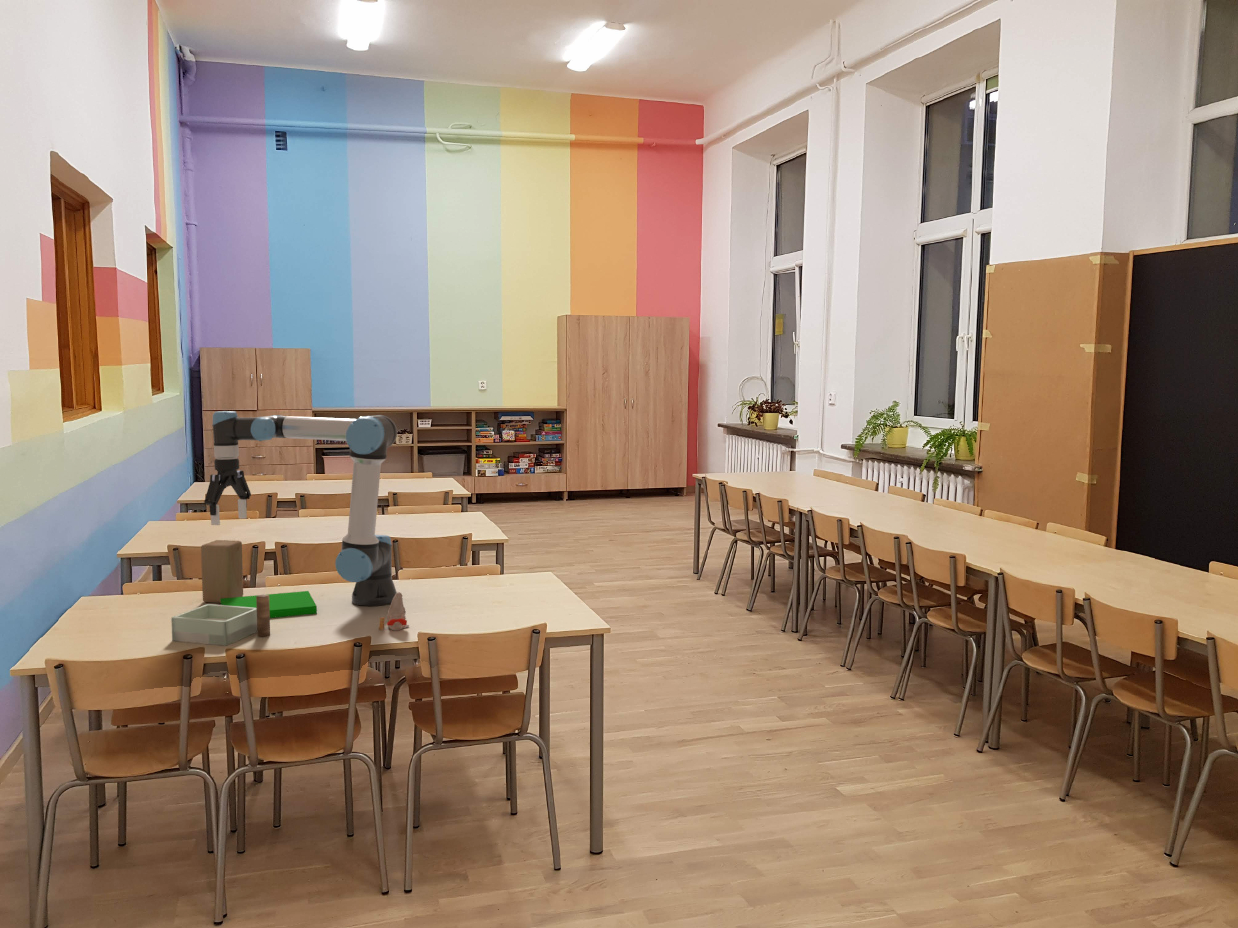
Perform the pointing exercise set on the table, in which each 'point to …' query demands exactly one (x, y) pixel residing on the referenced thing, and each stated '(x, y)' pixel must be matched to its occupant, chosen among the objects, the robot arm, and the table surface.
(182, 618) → the crate
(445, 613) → the table surface
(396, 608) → the figurine
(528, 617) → the table surface
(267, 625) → the peg
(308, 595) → the book
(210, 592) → the wooden block
